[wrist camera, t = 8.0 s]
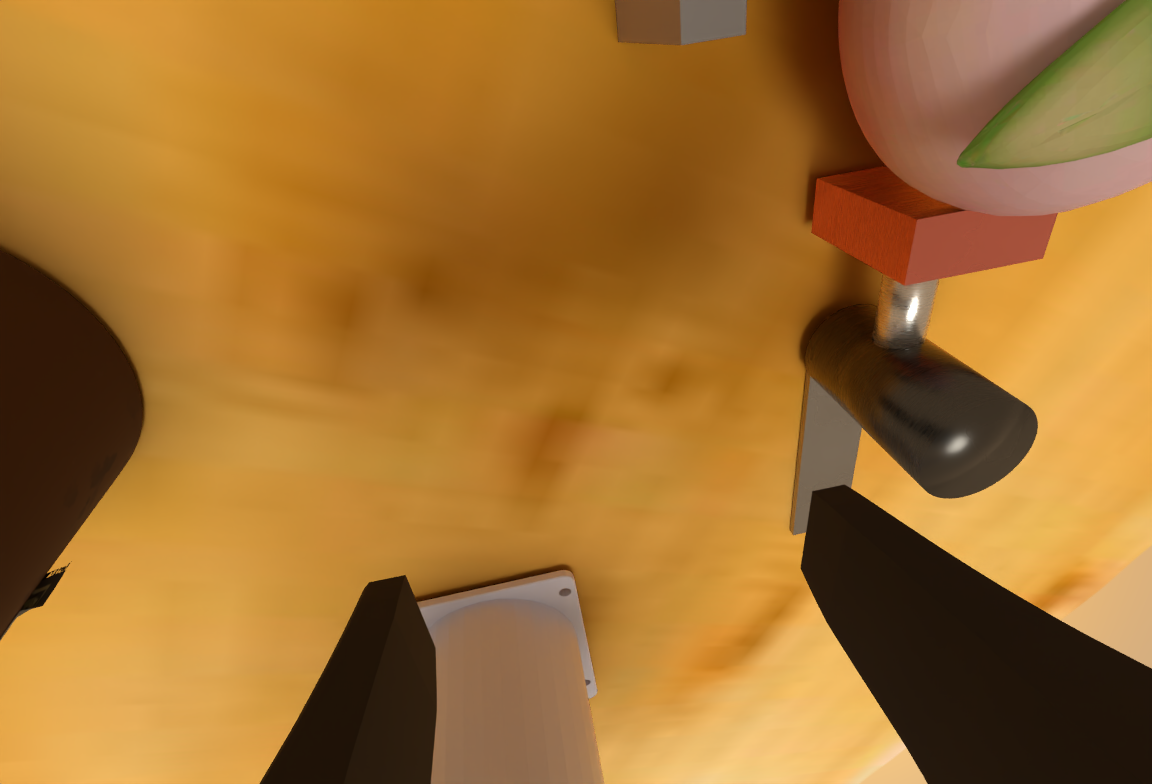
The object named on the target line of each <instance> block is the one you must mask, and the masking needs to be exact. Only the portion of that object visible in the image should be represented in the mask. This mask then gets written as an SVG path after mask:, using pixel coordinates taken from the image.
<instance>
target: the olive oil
mask: <svg viewBox="0 0 1152 784" xmlns="http://www.w3.org/2000/svg"><path fill="white" fill-rule="evenodd" d="M141 427H142V402H141V396H140V392H139V388H138V385H137V382H136V379H135V376H134V374H133V371H132V369H131V367H130V365H129V363H128V361H127V359H126V358H125V356H124V354H123V353H122V351H121V349H120V348H119V346H118V345H117V343H116V342H115V341H114V339H113V338H112V337H111V335H110V334H109V333H108V332H107V330H106V329H105V328H104V327H103V326H102V325H101V323H100V322H99V321H98V320H97V319H96V318H95V317H94V316H93V315H92V314H91V313H90V312H89V311H88V310H87V309H86V308H85V307H84V306H83V305H82V304H80V303H79V302H78V301H77V300H76V299H75V298H74V297H72V296H71V295H70V294H69V293H67V292H66V291H65V290H64V289H62V288H61V287H60V286H58V285H57V284H56V283H54V282H53V281H52V280H50V279H49V278H47V277H46V276H44V275H43V274H41V273H40V272H38V271H37V270H35V269H33V268H32V267H30V266H28V265H27V264H25V263H23V262H22V261H20V260H18V259H16V258H14V257H12V256H11V255H9V254H7V253H5V252H3V251H1V250H0V640H1V639H2V638H3V636H4V635H5V633H6V632H7V630H8V629H9V628H10V626H11V625H12V623H13V622H14V620H15V619H16V618H17V617H18V616H20V615H22V614H23V613H25V612H27V611H28V610H30V609H33V608H36V607H40V606H43V605H44V603H45V602H46V600H47V599H48V597H49V596H50V594H51V593H52V591H53V590H54V588H55V587H56V585H57V584H58V582H59V580H60V579H61V577H62V576H63V574H64V572H65V570H64V569H66V568H65V567H63V568H62V567H61V568H60V569H59V571H60V570H61V571H63V572H60V574H59V572H58V573H57V574H56V572H57V571H58V569H57V571H56V572H55V573H54V574H53V573H52V574H51V575H52V576H50V577H48V575H49V574H50V573H51V572H50V573H47V572H48V571H49V569H50V568H51V567H52V565H53V564H54V563H55V561H56V560H57V558H58V557H59V556H60V554H61V553H62V552H63V550H64V549H65V548H66V546H67V545H68V543H69V542H70V541H71V539H72V538H73V537H74V535H75V534H76V533H77V531H78V530H79V528H80V527H81V526H82V524H83V523H84V522H85V520H86V519H87V518H88V516H89V515H90V513H91V512H92V511H93V509H94V508H95V507H96V505H97V504H98V502H99V501H100V500H101V498H102V497H103V496H104V494H105V493H106V492H107V490H108V489H109V487H110V486H111V485H112V483H113V482H114V481H115V479H116V478H117V476H118V475H119V474H120V472H121V471H122V469H123V468H124V467H125V465H126V463H127V462H128V460H129V459H130V457H131V455H132V454H133V452H134V449H135V447H136V445H137V442H138V439H139V436H140V432H141ZM69 564H70V563H69ZM69 564H68V565H69ZM67 567H68V566H67ZM62 569H63V570H62ZM54 571H55V570H54ZM54 571H52V572H54ZM47 577H48V578H47Z"/></svg>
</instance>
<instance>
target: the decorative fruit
mask: <svg viewBox="0 0 1152 784" xmlns="http://www.w3.org/2000/svg"><path fill="white" fill-rule="evenodd" d="M838 35H839V50H840V58H841V66H842V71H843V76H844V81H845V86H846V90H847V93H848V97H849V101H850V104H851V107H852V110H853V112H854V115H855V118H856V120H857V122H858V124H859V126H860V128H861V130H862V132H863V134H864V136H865V138H866V140H867V141H868V142H869V144H870V145H871V147H872V148H873V150H874V151H875V152H876V154H877V155H878V157H879V158H880V159H881V160H882V161H883V163H884V164H885V165H886V166H887V167H888V168H889V169H890V170H891V171H892V172H893V173H895V174H896V175H897V176H898V177H899V178H901V179H902V180H903V181H904V182H906V183H907V184H908V185H910V186H911V187H913V188H915V189H917V190H919V191H920V192H922V193H924V194H926V195H927V196H929V197H931V198H933V199H935V200H938V201H941V202H944V203H947V204H950V205H952V206H955V207H958V208H961V209H965V210H970V211H975V212H980V213H985V214H990V215H995V216H1039V215H1048V214H1054V213H1059V212H1065V211H1069V210H1073V209H1076V208H1079V207H1083V206H1086V205H1090V204H1093V203H1096V202H1099V201H1103V200H1106V199H1109V198H1112V197H1115V196H1118V195H1121V194H1123V193H1125V192H1128V191H1130V190H1132V189H1135V188H1137V187H1140V186H1142V185H1144V184H1147V183H1149V182H1151V181H1152V0H839V9H838Z"/></svg>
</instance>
